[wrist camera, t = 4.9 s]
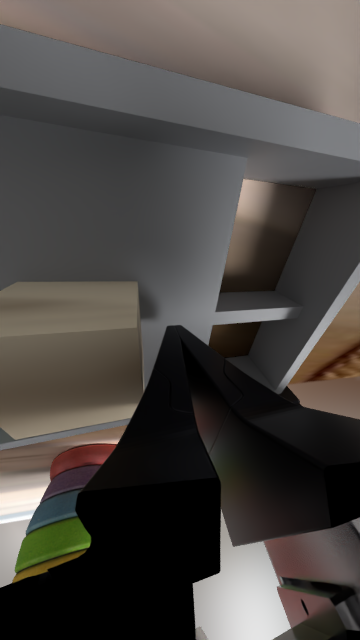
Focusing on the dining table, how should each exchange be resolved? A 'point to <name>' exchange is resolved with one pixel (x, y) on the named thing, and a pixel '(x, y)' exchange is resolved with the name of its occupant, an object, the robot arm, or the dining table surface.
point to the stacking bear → (60, 513)
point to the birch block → (69, 355)
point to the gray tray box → (168, 197)
